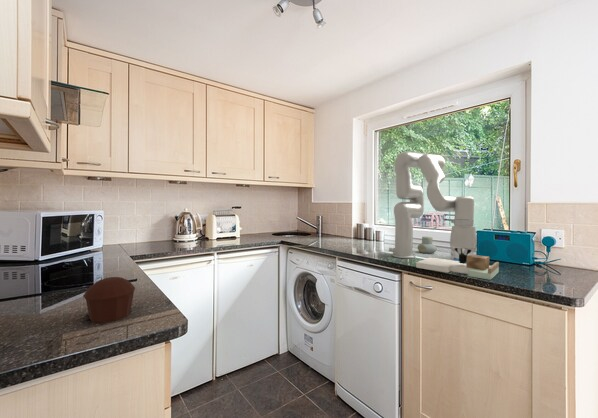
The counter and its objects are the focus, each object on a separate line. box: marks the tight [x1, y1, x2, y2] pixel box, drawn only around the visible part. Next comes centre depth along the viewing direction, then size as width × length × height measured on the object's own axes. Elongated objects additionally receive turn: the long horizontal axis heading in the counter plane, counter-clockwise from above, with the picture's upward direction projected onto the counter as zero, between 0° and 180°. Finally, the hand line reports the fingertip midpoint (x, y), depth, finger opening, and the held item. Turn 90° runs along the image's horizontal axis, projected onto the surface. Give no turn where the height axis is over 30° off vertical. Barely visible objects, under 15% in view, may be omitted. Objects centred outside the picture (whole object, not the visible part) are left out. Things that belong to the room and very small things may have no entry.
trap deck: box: [415, 257, 500, 281], centre depth 131 cm, size 30×18×4 cm, turn 46°
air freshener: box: [417, 236, 437, 255], centre depth 175 cm, size 11×8×10 cm
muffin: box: [82, 276, 136, 324], centre depth 74 cm, size 12×11×10 cm
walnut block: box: [466, 254, 490, 270], centre depth 124 cm, size 7×7×5 cm
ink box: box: [450, 248, 475, 264], centre depth 148 cm, size 9×8×12 cm
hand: (462, 263), depth 129 cm, fingers closed
